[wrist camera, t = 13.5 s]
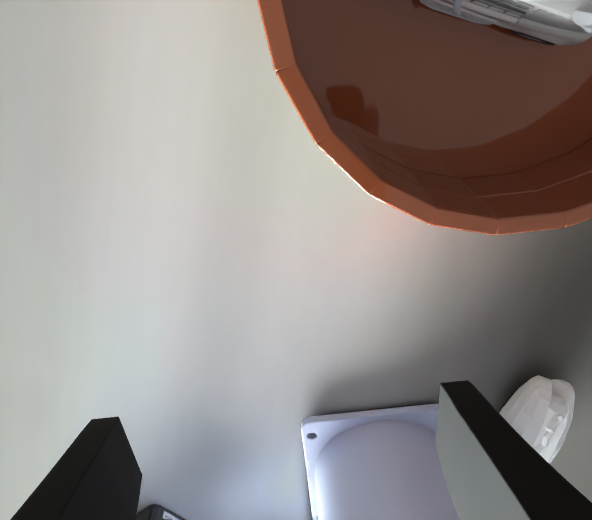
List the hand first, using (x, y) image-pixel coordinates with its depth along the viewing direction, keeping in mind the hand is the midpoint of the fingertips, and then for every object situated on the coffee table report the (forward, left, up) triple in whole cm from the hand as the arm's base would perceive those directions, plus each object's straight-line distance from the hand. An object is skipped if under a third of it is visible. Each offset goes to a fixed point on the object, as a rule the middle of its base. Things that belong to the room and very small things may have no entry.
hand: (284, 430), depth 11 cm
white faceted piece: (-12, -11, -10) cm, 19 cm away
